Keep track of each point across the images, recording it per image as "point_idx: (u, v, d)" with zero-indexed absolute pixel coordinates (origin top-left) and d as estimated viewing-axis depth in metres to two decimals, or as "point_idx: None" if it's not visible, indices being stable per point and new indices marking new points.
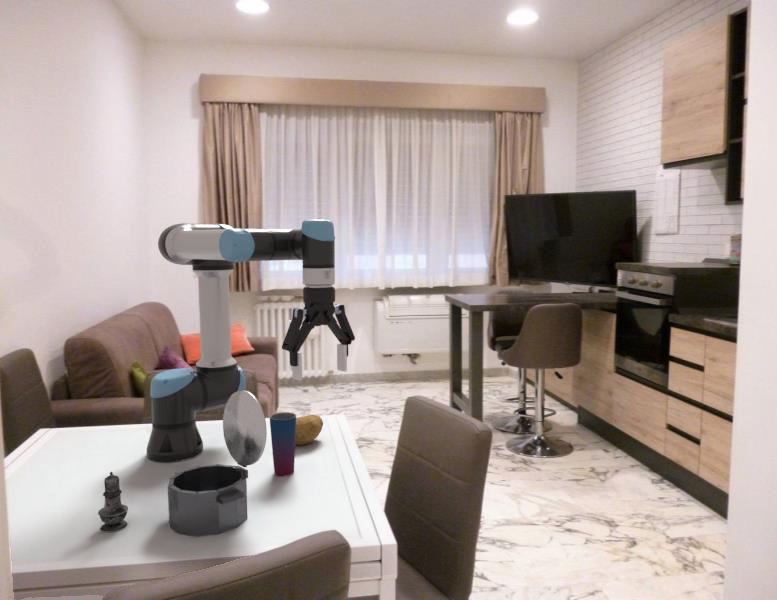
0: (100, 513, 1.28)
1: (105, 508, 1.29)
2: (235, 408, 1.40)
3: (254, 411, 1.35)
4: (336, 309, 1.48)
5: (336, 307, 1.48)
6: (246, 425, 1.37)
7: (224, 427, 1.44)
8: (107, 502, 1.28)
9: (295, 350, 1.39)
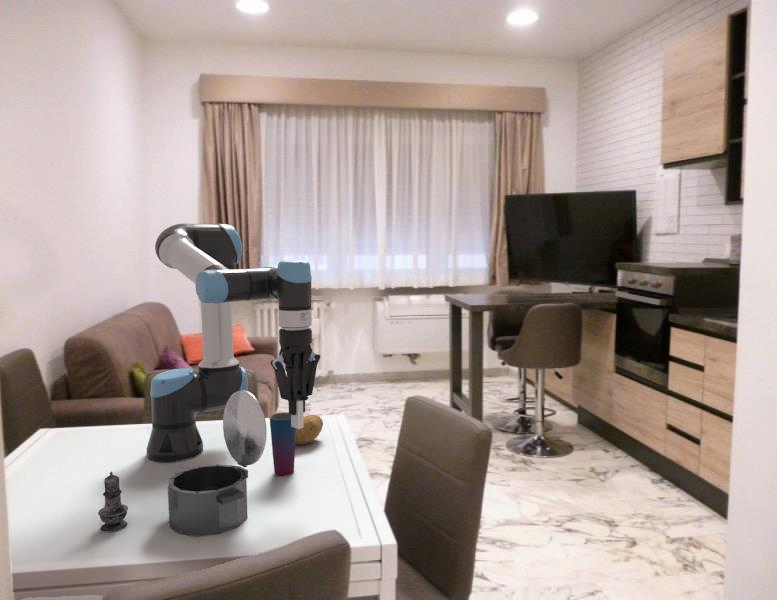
0: (100, 513, 1.28)
1: (105, 508, 1.29)
2: (235, 408, 1.40)
3: (254, 411, 1.35)
4: (312, 355, 1.46)
5: (313, 353, 1.46)
6: (246, 425, 1.37)
7: (224, 427, 1.44)
8: (107, 502, 1.28)
9: (294, 400, 1.42)
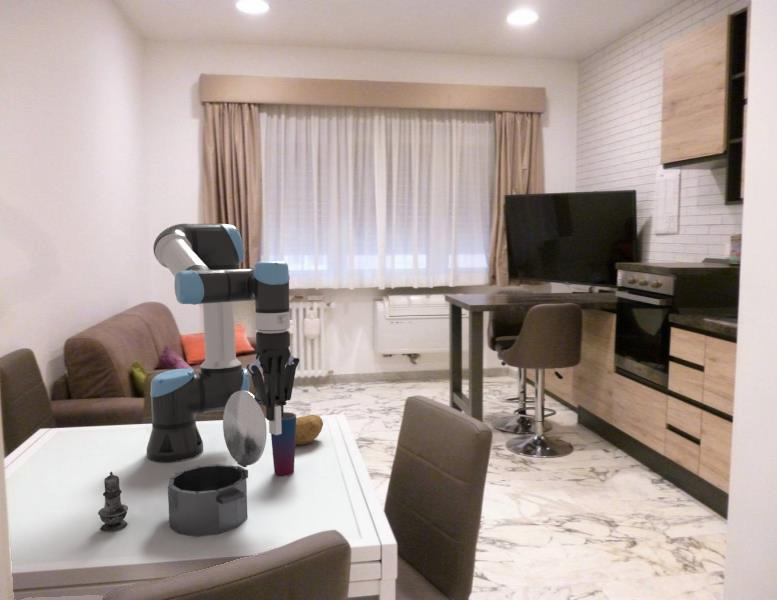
0: (100, 513, 1.28)
1: (105, 508, 1.29)
2: (235, 408, 1.40)
3: (254, 411, 1.35)
4: (290, 359, 1.41)
5: (291, 357, 1.41)
6: (246, 425, 1.37)
7: (224, 427, 1.44)
8: (107, 502, 1.28)
9: (272, 405, 1.37)
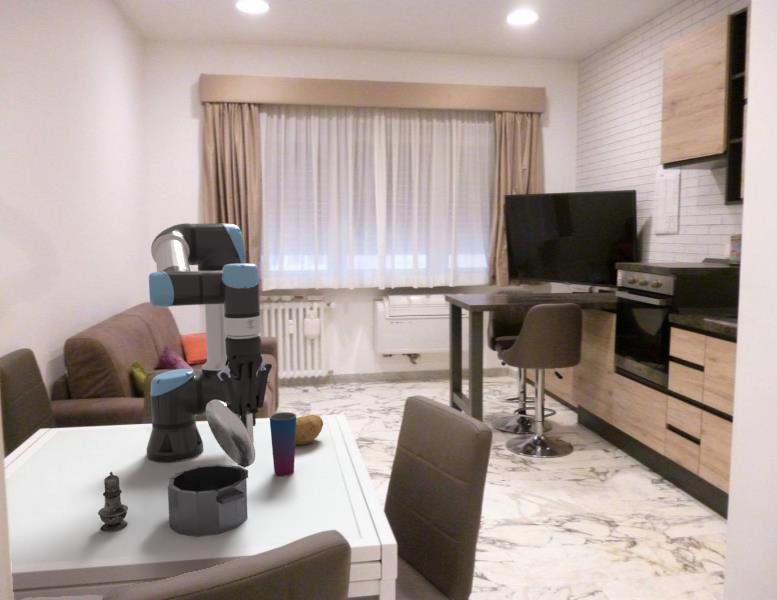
0: (100, 513, 1.28)
1: (105, 508, 1.29)
2: (215, 416, 1.37)
3: (232, 420, 1.31)
4: (262, 364, 1.36)
5: (263, 363, 1.36)
6: (231, 432, 1.34)
7: (213, 432, 1.42)
8: (107, 502, 1.28)
9: (243, 413, 1.32)
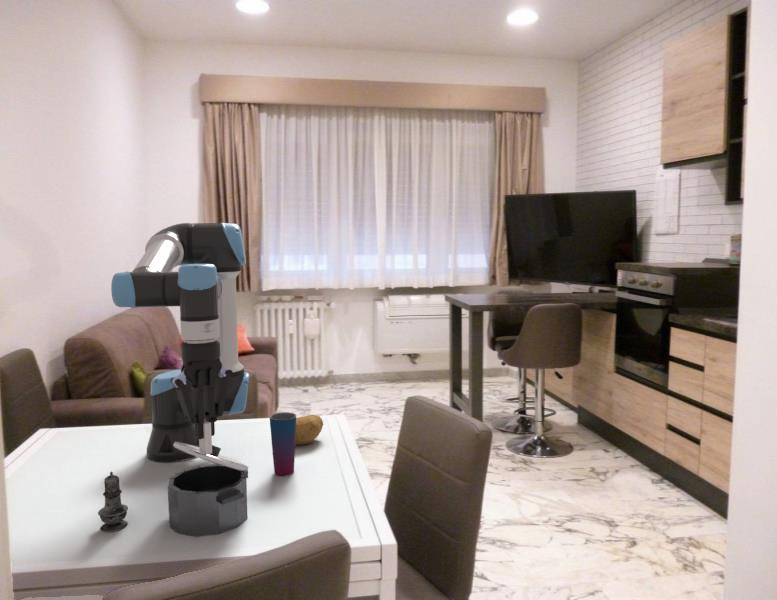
0: (100, 513, 1.28)
1: (105, 508, 1.29)
2: None
3: None
4: (222, 371, 1.29)
5: (223, 369, 1.29)
6: None
7: None
8: (107, 502, 1.28)
9: (200, 422, 1.25)
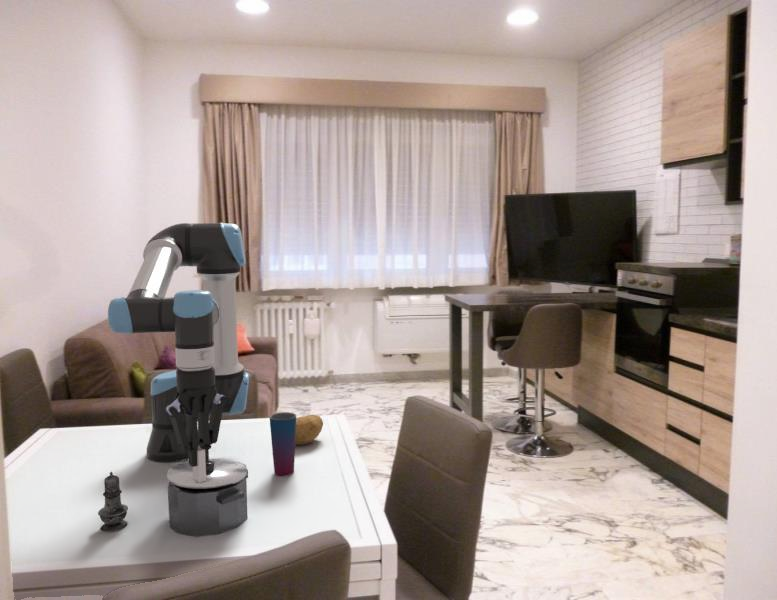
0: (100, 513, 1.28)
1: (105, 508, 1.29)
2: None
3: None
4: (217, 397, 1.28)
5: (218, 395, 1.28)
6: None
7: None
8: (107, 502, 1.28)
9: (194, 450, 1.24)
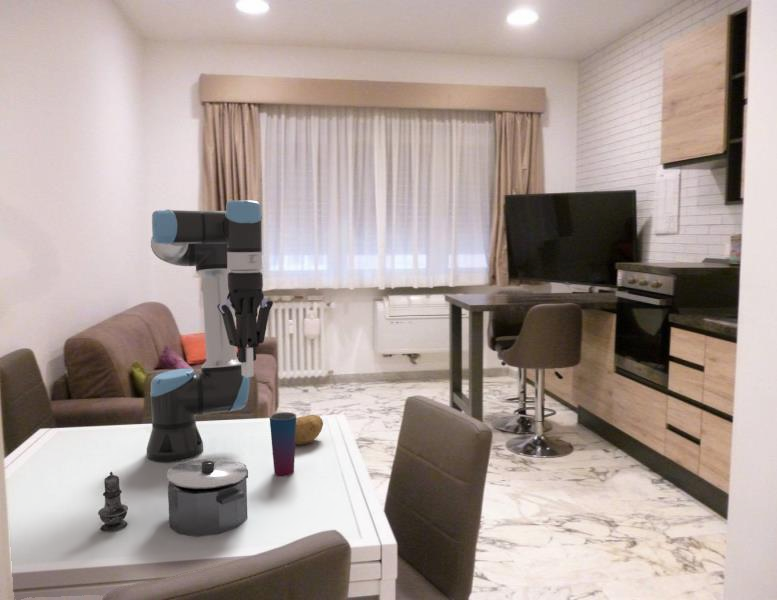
0: (100, 513, 1.28)
1: (105, 508, 1.29)
2: None
3: None
4: (263, 301, 1.40)
5: (265, 300, 1.40)
6: None
7: None
8: (107, 502, 1.28)
9: (243, 347, 1.36)
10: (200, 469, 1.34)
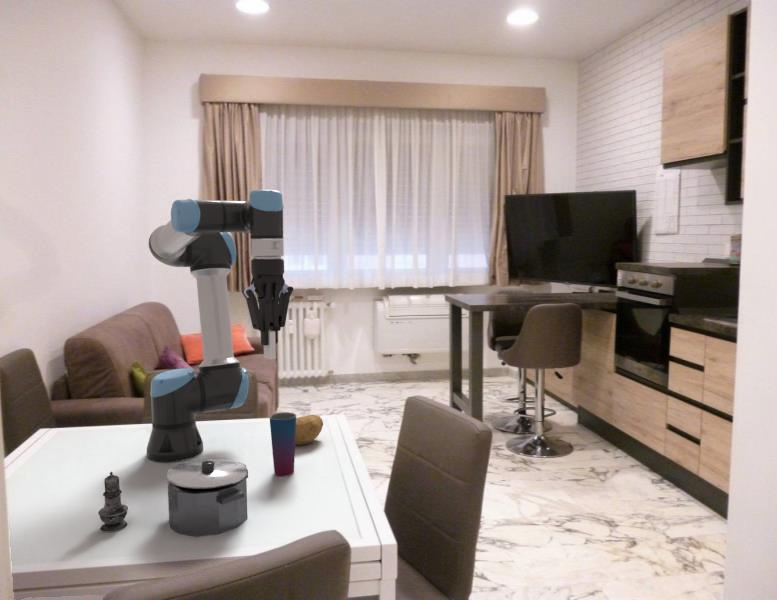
0: (100, 513, 1.28)
1: (105, 508, 1.29)
2: None
3: None
4: (284, 287, 1.46)
5: (285, 285, 1.46)
6: None
7: None
8: (107, 502, 1.28)
9: (266, 330, 1.42)
10: (200, 469, 1.34)
